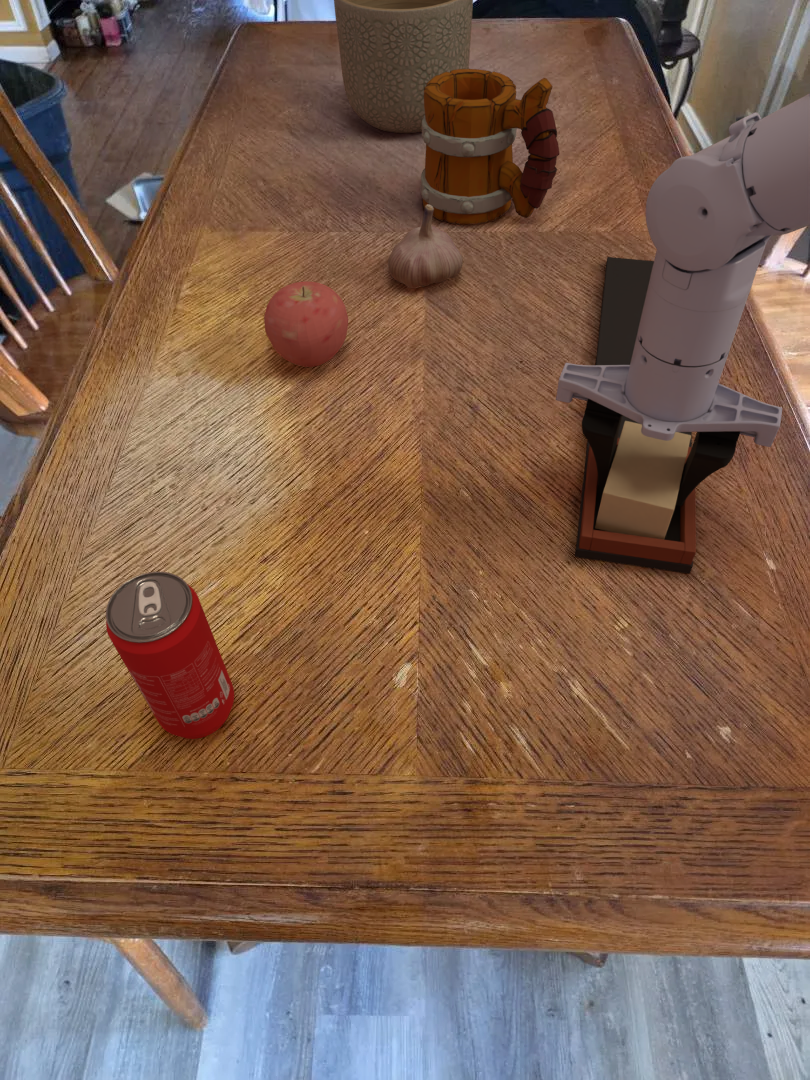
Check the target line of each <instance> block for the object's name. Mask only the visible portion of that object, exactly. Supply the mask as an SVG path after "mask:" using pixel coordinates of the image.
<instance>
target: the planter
mask: <svg viewBox="0 0 810 1080" xmlns="http://www.w3.org/2000/svg"><path fill="white" fill-rule="evenodd" d="M333 5H334V16H335V25H336V33H337V40H338V49H339V50H338V51H339V59H340V66H341V75H342V82H343V87H344V92H345V95H346V98H347V101H348V103H349V105H350V107H351V109H352V110H353V111H354V113H355V114H356V115H357V116H358V117H359V118H361V119H362V120H363V122H365V123H367V124H368V125H370V126H371V127H373V128H376V129H378V130H380V131H384V132H388V133H394V134H414V133H422V120H423V117H424V115H425V110H424V87H426V85H427V83H428V82H429V81H430V80H431V79H432V78H433V77H435V76H436V75H440V74H442V73H444V72H450V71H452V70H457V69H470V58H471V57H470V54H471V42H472V41H471V38H472V24H473V11H474V9H473V5H474V0H333Z"/></svg>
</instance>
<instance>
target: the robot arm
mask: <svg viewBox="0 0 810 1080" xmlns="http://www.w3.org/2000/svg"><path fill="white" fill-rule="evenodd" d="M728 133H729V136H727V137H725V138H723V139H721V140H719V141H717V142H715V143H713V144H711V145H709V146H707V147H705V148H703V149H701V150H699V151H697V152H694V153H693V154H691V155H685V156H681V157H679V158H677V159H675V160H674V161H673V162H672V163H671V165H670V166H669V167H668V168H667V169H665V170H664V171H662V172H661V173H660V175H658V176H657V178H656V179H655V180H654V182H653V183H652V184H651V187H650V189H649V191H648V193H647V197H646V202H645V222H646V228H647V232H648V235H649V238H650V240H651V242H652V244H653V245H654V247H655V248H656V249H655V250H656V251H655V255H654V259H653V261H654V264H653V268H652V272H651V277H650V281H649V285H648V290H647V294H646V298H645V303H644V307H643V311H642V316H641V320H640V324H639V329H638V333H637V337H636V342H635V346H634V351H633V355H632V359H631V363H630V365H594V364H590V365H589V364H576V363H571V362H565V363H564V365H563V369H562V370H561V373H560V376H559V378H558V382H557V389H556V394H555V395H556V396H555V401H558V402H562V403H566V404H569V403H572V402H573V399H576V400H581V401H586V406H585V409H584V414H583V417H582V420H581V431H582V434H583V436H584V437H585V439H586V441H587V440H588V442H589V444H590V446H591V449H592V451H593V454H594V457H595V461H596V465H597V472H598V486H601V487H605V485H606V481H607V478H608V475H609V472H610V468H611V465H612V462H613V458H614V455H615V452H616V447H617V440H618V433H619V429H620V425H621V421H622V417H623V416H626V417H628V418H630V419H632V420H634V421H636V422H638V423H640V424H641V425H642V428H641V433H642V434H643V435H645V436H647V437H651V438H656V439H660V440H666V441H669V440H672V439H673V437H674V434H675V432H692V433H696V434H695V437H694V440H693V442H692V449H691V451H690V454H689V456H688V458H687V460H686V463H685V465H684V469H683V474H682V478H681V483H680V487H679V491H678V496H677V500H676V504H675V505H679V506H682V505H683V503H684V501H685V500H686V498H687V497H688V496H689V494H690V493H691V492H692V491H693V490H694V489H695V490H696V488H697V487H698V486H699V485H700V484H701V483H702V482H703V481H705V479H707V478H708V477H709V476H711V475H712V474H714V473H716V472H717V471H720V470H721V469H723V468H725V467H727V466H728V465H729V463H730V462H731V461H732V459H733V458H734V456H735V454H736V449H737V443H738V440H739V437H740V435H741V436H746V437H750V438H753V443H755V445H758V446H762V447H766V448H771V447H772V446H773V443H774V441H775V439H776V436H777V434H778V432H779V430H780V427H781V421H782V414H783V407H782V406H778V405H773V404H770V403H767V402H764V401H761V400H759V399H756V398H753V397H750V395H749V396H748V395H747V394H744V393H742V392H740V391H737V390H735V389H734V388H730V387H729V386H727V385H724V384H722V383H720V380H721V377H722V374H723V371H724V368H725V366H726V363H727V360H728V357H729V355H730V351H731V348H732V345H733V342H734V338H735V336H736V333H737V330H738V327H739V324H740V321H741V319H742V315H743V312H744V309H745V308H746V304H747V301H748V298H749V295H750V293H751V290H752V287H753V284H754V280H755V277H756V274H757V271H758V269H759V265H760V263H761V260H762V257H763V255H764V251H765V249H766V246H767V244H768V242H769V240H770V239H771V238H772V237H773V236H783V235H788V234H790V233H793V232H796V231H798V230H801V229H803V228H807V227H809V226H810V93H808V94H806V95H804V96H802V97H800V98H798V99H796V100H795V101H793V102H791V103H788V104H786V105H785V106H783V107H781V108H779V109H777V110H775V111H773V112H771V113H770V114H768V115H766V116H764V117H761V115H760V114H759V112H756V111H755V112H752V113H751V114H748V115H746V116H745V117H742V118H741V119H739V120H736V121H735V122H733V123H731V124H730V125H729V127H728Z"/></svg>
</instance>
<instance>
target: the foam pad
mask: <svg viewBox="0 0 810 1080" xmlns="http://www.w3.org/2000/svg"><path fill="white" fill-rule="evenodd" d="M641 428H642V425H641V424H638V423H633V422H629V421H625V423H624V426H623V429H622V432H621V436H620V439H619V442H618V445H617V449H616V452H615V455H614V458H613V462H612V465H611V468H610V472H609V475H608V478H607V481H606V485H605V488H604V491H603V495H602V499H601V503H600V508H599V512H598V516H597V520H596V525H595V528H596V529H600V530H604V531H607V532H614V533H621V534H628V535H635V536H642V537H649V538H656V539H663V540H664V538H665V535H666V532H667V530H668V527H669V524H670V521H671V518H672V515H673V512H674V509H675V504H676V500H677V496H678V491H679V487H680V483H681V478H682V474H683V469H684V465H685V461H686V456H687V452H688V448H689V443H690V439H691V435H688V434H683V433H679V432H675V434H674V437H673V439H672V440H669V441H666V440H660V439H656V438H651V437H647V436H645V435H643V434H642V433H641Z"/></svg>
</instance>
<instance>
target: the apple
mask: <svg viewBox="0 0 810 1080" xmlns="http://www.w3.org/2000/svg"><path fill="white" fill-rule="evenodd" d="M263 323H264V331H265V334H266V337H267V339H268V341H269V343H270V344H271V347H272V348H273V349H274V350H275V352H276V353H277V354H278V355H279V356H280V357H281V358H283V359H284V360H286V361H287V362H289V363H291V364H292V365H296V366H298V367H304V368H313V367H318V366H321V365H324V364H326V363H327V362H329V361H331V359H332V358H334V357H336V355H337V354H338V352H339V351H340V349H342V347H343V345H344V343H345V341H346V340H347V339H346V338H347V335H348V328H349V327H348V326H349V316H348V312H347V307H346V305H345V302H344V301H343V300H342V298H341V297H340V296H339V294H338V293H337V292H336V291H335V290H333V289H332V288H331V287H329V286H327V285H326V284H323V283H320V282H317V281H309V280H307V281H298V282H292V283H290V284H287V285H285V286H283V287H281V288H280V289H278V291H276V292H274V294H273V295H272V296H271V298H270V300H269V301H268V303H267V304H266V308H265V311H264V316H263Z"/></svg>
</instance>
